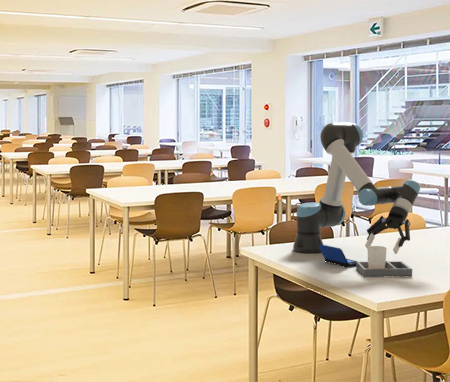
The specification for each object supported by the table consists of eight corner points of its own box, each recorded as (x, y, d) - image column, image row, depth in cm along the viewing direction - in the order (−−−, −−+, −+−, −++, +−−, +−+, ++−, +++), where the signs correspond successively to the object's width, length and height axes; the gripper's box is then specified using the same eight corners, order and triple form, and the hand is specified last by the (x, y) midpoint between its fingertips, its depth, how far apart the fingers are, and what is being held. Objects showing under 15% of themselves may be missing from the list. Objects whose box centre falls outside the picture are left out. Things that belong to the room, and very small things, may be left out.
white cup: (386, 273, 278) (386, 249, 277) (367, 272, 279) (367, 249, 278) (385, 269, 285) (386, 246, 284) (366, 268, 287) (367, 245, 286)
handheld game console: (363, 265, 297) (363, 245, 296) (340, 269, 290) (341, 248, 289) (339, 259, 310) (339, 240, 309) (317, 263, 303) (317, 243, 302)
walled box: (363, 277, 275) (364, 269, 274) (356, 268, 290) (356, 261, 289) (412, 276, 275) (412, 269, 275) (401, 268, 290) (402, 261, 290)
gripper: (429, 219, 285) (410, 259, 276) (378, 212, 302) (359, 250, 294) (423, 208, 280) (403, 248, 272) (372, 202, 298) (352, 240, 289)
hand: (380, 249), depth 283 cm, fingers open, 13 cm apart
